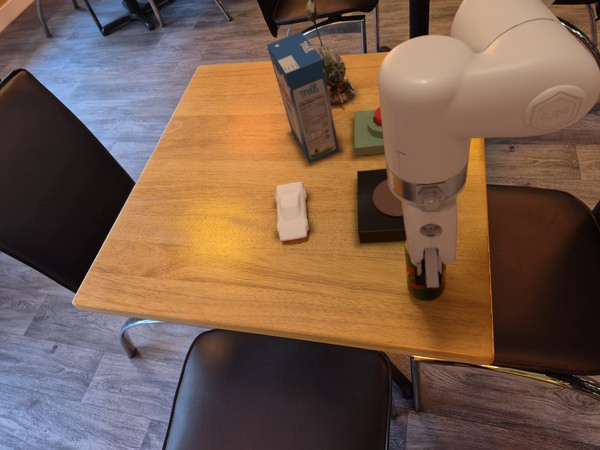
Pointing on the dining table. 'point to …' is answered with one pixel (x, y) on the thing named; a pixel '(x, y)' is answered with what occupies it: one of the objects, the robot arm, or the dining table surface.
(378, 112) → the red button
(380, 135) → the button box
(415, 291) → the soda can
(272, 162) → the dining table surface
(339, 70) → the plant with pod
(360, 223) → the stand
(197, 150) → the dining table surface
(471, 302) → the dining table surface
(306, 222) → the toy car
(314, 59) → the milk carton
